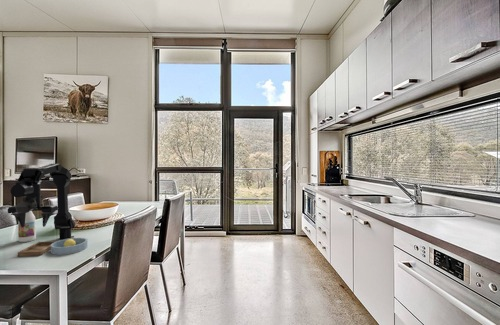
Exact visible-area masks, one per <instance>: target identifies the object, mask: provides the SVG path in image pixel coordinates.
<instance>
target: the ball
mask: <svg viewBox="0 0 500 325" xmlns="http://www.w3.org/2000/svg"><path fill="white" fill-rule="evenodd" d="M75 244H76V243H75V241H74V240H73V239H68V240H66V241H65V243H64V247H68V246H74V245H75Z"/></svg>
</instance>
